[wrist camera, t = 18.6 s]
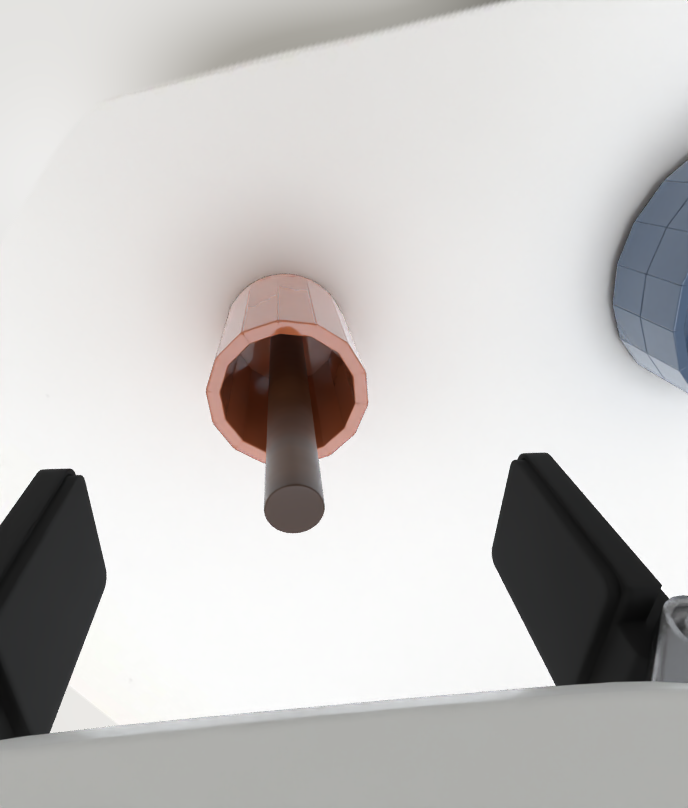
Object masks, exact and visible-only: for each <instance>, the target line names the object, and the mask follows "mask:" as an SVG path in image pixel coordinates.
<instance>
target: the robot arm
mask: <svg viewBox="0 0 688 808" xmlns="http://www.w3.org/2000/svg"><path fill="white" fill-rule="evenodd" d="M492 558H493V562H494V565H495V567H496V569H497V571H498V573H499V575H500V577H501V579H502V581H503V583H504V585H505V587H506V589H507V591H508V593H509V595H510V596H511V598H512V600H513V602H514V604H515V606H516V608H517V610H518V612H519V614H520V616H521V618H522V620H523V622H524V624H525V626H526V628H527V630H528V632H529V634H530V636H531V638H532V640H533V642H534V644H535V646H536V648H537V649H538V651H539V653H540V655H541V657H542V659H543V661H544V663H545V665H546V667H547V669H548V671H549V673H550V675H551V677H552V679H553V681H554V683H555V685H556V686H549V687H535V688H523V689H512V690H500V691H488V692H477V693H465V694H453V695H441V696H430V697H418V698H407V699H396V700H385V701H374V702H362V703H351V704H340V705H329V706H319V707H308V708H297V709H286V710H275V711H264V712H254V713H243V714H233V715H223V716H212V717H202V718H192V719H181V720H171V721H161V722H150V723H140V724H130V725H119V726H111V727H102V728H93V729H84V730H76V731H67V732H58V733H50V731H51V728H52V725H53V722H54V720H55V717H56V715H57V712H58V709H59V707H60V704H61V702H62V699H63V696H64V694H65V691H66V688H67V686H68V683H69V681H70V678H71V675H72V673H73V670H74V667H75V665H76V662H77V660H78V657H79V654H80V652H81V649H82V646H83V644H84V641H85V639H86V636H87V633H88V631H89V628H90V625H91V623H92V620H93V618H94V615H95V612H96V610H97V607H98V604H99V602H100V599H101V596H102V594H103V591H104V588H105V585H106V568H105V564H104V559H103V555H102V551H101V547H100V542H99V538H98V534H97V530H96V525H95V521H94V517H93V513H92V508H91V504H90V500H89V496H88V491H87V487H86V483H85V480H84V477H83V476H81V475H76V474H75V472H74V471H73V470H72V469H45V470H40V471H39V472H38V473H37V474H36V476H35V477H34V478H33V480H32V481H31V483H30V484H29V485H28V487H27V488H26V490H25V491H24V493H23V494H22V495H21V497H20V498H19V500H18V501H17V502H16V504H15V505H14V507H13V508H12V509H11V511H10V512H9V514H8V515H7V516H6V518H5V519H4V521H3V522H2V523H1V525H0V808H688V596H684V595H683V596H676V597H672V598H670V599H669V598H668V597H667V596H666V595H665V593H664V592H663V591H662V590H661V586H662V585H661V584H660V582H659V581H658V580H657V579H656V578H655V577H654V575H653V574H652V573H651V572H650V571H649V570H648V569H647V567H646V566H645V565H644V564H643V563H642V562H641V560H640V559H639V558H638V557H637V556H636V555H635V553H634V552H633V551H632V550H631V549H630V548H629V546H628V545H627V544H626V543H625V542H624V541H623V539H622V538H621V537H620V536H619V535H618V534H617V532H616V531H615V530H614V529H613V528H612V527H611V525H610V524H609V523H608V522H607V521H606V520H605V518H604V517H603V516H602V515H601V514H600V513H599V512H598V510H597V509H596V508H595V507H594V506H593V505H592V503H591V502H590V501H589V500H588V499H587V498H586V496H585V495H584V494H583V493H582V492H581V491H580V489H579V488H578V487H577V486H576V485H575V484H574V482H573V481H572V480H571V479H570V478H569V477H568V475H567V474H566V473H565V472H564V471H563V470H562V468H561V467H560V466H559V465H558V464H557V463H556V461H555V460H554V459H553V458H552V457H551V456H550V455H549V454H548V453H523V454H521V455H520V456H519V457H518V460H514V461H512V463H511V466H510V470H509V474H508V479H507V483H506V488H505V492H504V497H503V501H502V506H501V510H500V515H499V519H498V524H497V528H496V533H495V538H494V542H493V547H492Z"/></svg>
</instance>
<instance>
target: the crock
mask: <svg viewBox="0 0 688 808" xmlns="http://www.w3.org/2000/svg"><path fill="white" fill-rule="evenodd" d="M278 334H287V335H297V336H302V339H303V347H304V354H305V362H306V369H307V377H308V384H309V392H310V399H311V407H312V414H313V422H314V429H315V437H316V444H317V452H318V459H320V458H323V457H326V456H329V455H331V454H332V453H334V452H335V451H336V450H337V449H338V448H339V447H340V446H342V445H343V444H344V443H345V442H346V441H347V440H348V439H350V438H351V437H352V436H353V435H354V434H355V433H356V431H357V428H358V426H359V424H360V422H361V419H362V417H363V415H364V413H365V410H366V408H367V406H368V394H367V378H366V371H365V368H364V366H363V363H362V361H361V358H360V356H359V353H358V351H357V348H356V346H355V343H354V341H353V338H352V336H351V333H350V331H349V329H348V326H347V324H346V321H345V319H344V316H343V314H342V313H341V311H340V309H339V307H338V305H337V303H336V302H335V300H334V299H333V297H332V296H331V294H330V293H329V292H327V291H326V290H325V289H324V288H323V287H322V286H320V285H319V284H317V283H316V282H314V281H312V280H310V279H308V278H305V277H302V276H298V275H293V274H276V275H270V276H267V277H264V278H261V279H259V280H257V281H255V282H253V283H252V284H250V285H249V286H247V287H246V288H245V289H244V290H243V291H242V292H241V293H240V294H239V295H238V297H237V298H236V299H235V301H234V302H233V303H232V305H231V307H230V311H229V314H228V317H227V321H226V324H225V327H224V331H223V334H222V337H221V341H220V344H219V347H218V351H217V354H216V357H215V361H214V364H213V367H212V371H211V374H210V377H209V381H208V384H207V387H206V395H207V400H208V404H209V409H210V413H211V418H212V422H213V423H214V425H215V426H216V428H217V429H218V430H219V431H220V432H221V434H222V435H223V436H224V437H225V438H226V440H227V441H228V442H229V443H230V444H231V446H232V447H233V448H235V449H236V450H237V451H240V452H242V453H244V454H246V455H248V456H250V457H252V458H254V459H256V460H258V461H260V462H262V463H265V464H266V444H267V417H268V391H269V364H270V337H272V336H275V335H278Z"/></svg>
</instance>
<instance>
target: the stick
mask: <svg viewBox="0 0 688 808" xmlns="http://www.w3.org/2000/svg"><path fill="white" fill-rule="evenodd" d="M324 510H325V505H324V497H323V489H322V482H321V474H320V467H319V459H318V452H317V444H316V437H315V429H314V422H313V414H312V407H311V399H310V392H309V384H308V377H307V369H306V362H305V354H304V347H303V339H302V336H297V335H287V334H278V335H275V336H272V337H270V364H269V391H268V417H267V444H266V471H265V498H264V513H265V517H266V519H267V520H268V522H269V523H270V524H271V525H272V526H273V527H274V528H276V529H277V530H280V531H282V532H286V533H300V532H304V531H307V530H309V529H311V528H313V527H314V526H315V525H316V524H317V523H318V522H319V521H320V520H321V518H322V516H323V514H324Z"/></svg>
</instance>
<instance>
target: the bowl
mask: <svg viewBox="0 0 688 808" xmlns="http://www.w3.org/2000/svg"><path fill="white" fill-rule="evenodd" d="M617 264H618V265H617V270H616V279H615V287H614V296H613V309H614V313H615V318H616V323H617V327H618V332H619V336H620V339H621V341H622V342H623V344H624V345H625V347H626V348H627V349H628V351H629V352H630V354H631V355H632V357H633V358H634V360H635V361H636V362H637V363H638V364H639V365H640V366H642V367H644V368H645V369H647V370H649V371H650V372H652V373H654V374H656V375H657V376H659V377H661V378H662V379H664V380H666V381H667V382H669V383H671V384H672V385H674V386H676V387H678V388H679V389H681V390H683V391H684V392H686V393H688V160H687V161H686V162H685V163H683V164H682V165H681V166H680V167H679V168H678V169H676V170H675V171H674V172H673V173H672V174H671V175H669V176H668V177H667V178H666V179H665V180H664V181H663V183H662V184H661V185H660V187H659V188H658V189H657V191H656V192H655V194H654V195H653V196H652V198H651V199H650V201H649V202H648V203H647V205H646V206H645V208H644V209H643V210H642V212H641V213H640V214H639V216H638V217H637V219H636V220H635V222H634V223H633V226H632V228H631V231H630V233H629V236H628V238H627V241H626V243H625V245H624V248H623V250H622V253H621V255H620V258H619V260H618V263H617Z"/></svg>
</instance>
